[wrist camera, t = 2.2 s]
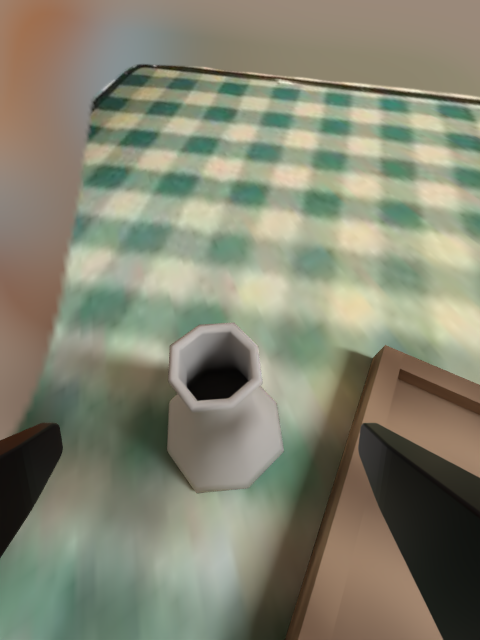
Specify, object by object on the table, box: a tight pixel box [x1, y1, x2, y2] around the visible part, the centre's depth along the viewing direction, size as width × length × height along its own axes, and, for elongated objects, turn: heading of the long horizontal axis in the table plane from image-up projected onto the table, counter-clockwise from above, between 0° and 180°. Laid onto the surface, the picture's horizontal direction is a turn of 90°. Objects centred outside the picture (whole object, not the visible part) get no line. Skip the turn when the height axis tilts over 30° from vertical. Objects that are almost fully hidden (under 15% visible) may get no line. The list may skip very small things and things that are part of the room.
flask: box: [167, 323, 284, 493], centre depth 14 cm, size 7×7×10 cm
